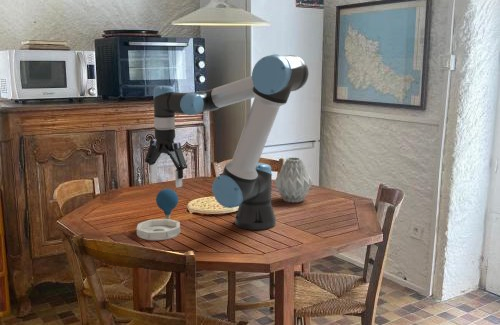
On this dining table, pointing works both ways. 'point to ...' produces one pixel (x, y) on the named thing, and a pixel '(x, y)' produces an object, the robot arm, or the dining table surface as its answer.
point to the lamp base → (158, 229)
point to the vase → (293, 180)
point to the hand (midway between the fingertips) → (166, 184)
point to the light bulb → (167, 201)
